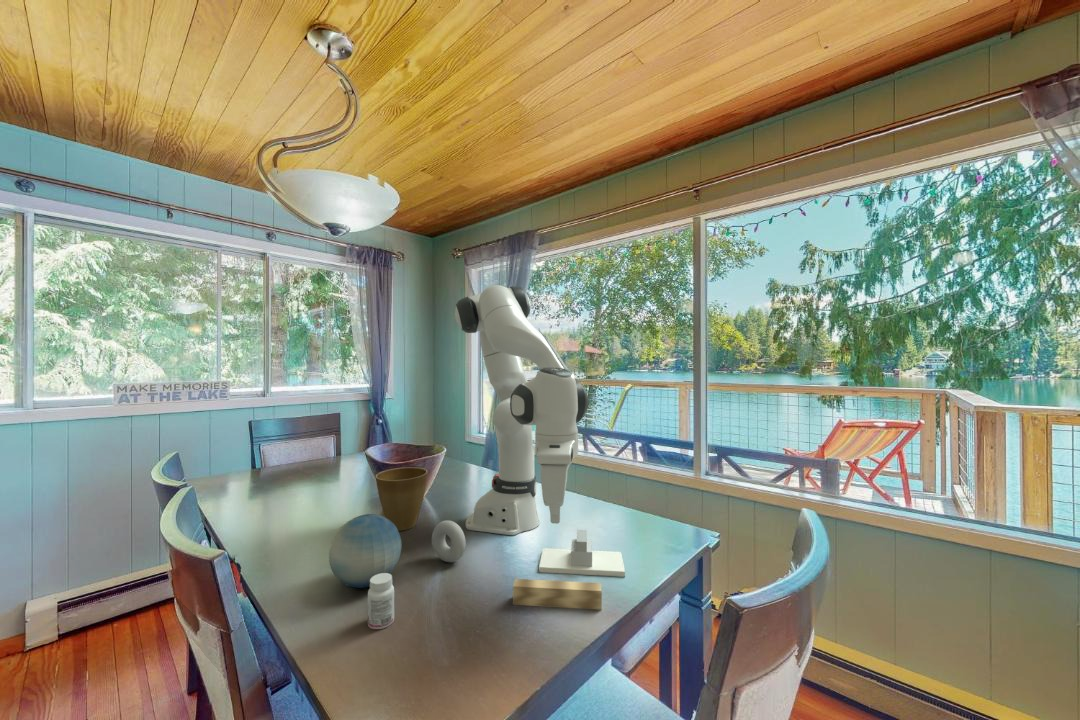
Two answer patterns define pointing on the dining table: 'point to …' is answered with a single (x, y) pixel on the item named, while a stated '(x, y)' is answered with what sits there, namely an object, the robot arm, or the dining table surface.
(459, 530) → the donut
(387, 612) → the pill bottle
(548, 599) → the pine bar
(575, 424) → the robot arm
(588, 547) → the fulcrum stand
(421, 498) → the plant pot
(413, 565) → the dining table surface
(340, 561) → the decorative ball
